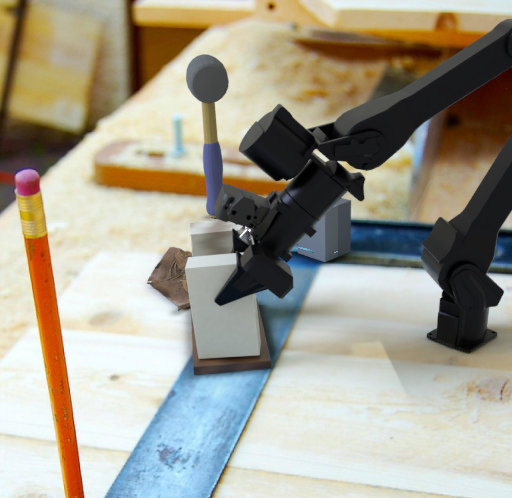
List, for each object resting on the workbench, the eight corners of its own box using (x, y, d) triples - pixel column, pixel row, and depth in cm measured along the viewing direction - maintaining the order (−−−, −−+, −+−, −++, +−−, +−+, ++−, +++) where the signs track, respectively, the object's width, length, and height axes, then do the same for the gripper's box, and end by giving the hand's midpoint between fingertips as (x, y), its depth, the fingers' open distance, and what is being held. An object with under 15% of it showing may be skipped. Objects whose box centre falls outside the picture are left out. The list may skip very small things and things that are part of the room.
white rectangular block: (260, 342, 102) (251, 251, 95) (259, 355, 99) (249, 262, 92) (201, 346, 103) (188, 257, 97) (198, 359, 100) (184, 268, 94)
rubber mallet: (195, 208, 158) (182, 54, 143) (231, 204, 157) (222, 49, 143) (200, 229, 147) (186, 64, 132) (239, 224, 147) (229, 58, 132)
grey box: (350, 251, 129) (351, 200, 125) (325, 262, 126) (325, 210, 122) (322, 243, 134) (322, 193, 129) (297, 253, 131) (296, 202, 127)
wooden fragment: (217, 306, 116) (217, 300, 116) (145, 313, 117) (145, 307, 116) (208, 245, 138) (208, 240, 138) (148, 251, 139) (147, 246, 139)
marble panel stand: (257, 304, 116) (252, 214, 109) (271, 368, 99) (267, 266, 92) (191, 310, 116) (182, 221, 109) (194, 374, 100) (184, 274, 93)
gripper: (245, 141, 97) (167, 232, 103) (259, 185, 80) (166, 290, 87) (309, 195, 100) (229, 281, 106) (335, 248, 84) (239, 345, 90)
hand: (216, 296), depth 97 cm, fingers closed on white rectangular block, 4 cm apart
